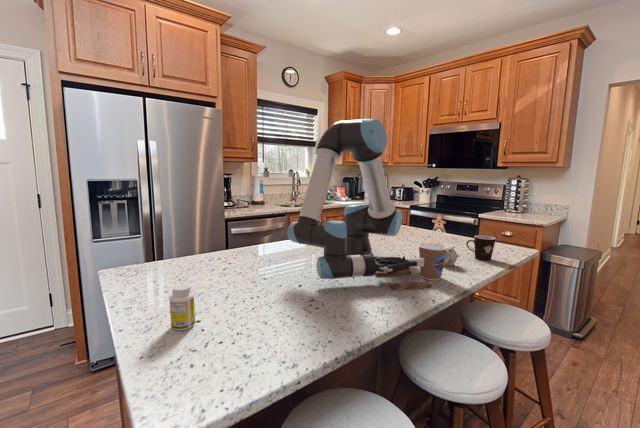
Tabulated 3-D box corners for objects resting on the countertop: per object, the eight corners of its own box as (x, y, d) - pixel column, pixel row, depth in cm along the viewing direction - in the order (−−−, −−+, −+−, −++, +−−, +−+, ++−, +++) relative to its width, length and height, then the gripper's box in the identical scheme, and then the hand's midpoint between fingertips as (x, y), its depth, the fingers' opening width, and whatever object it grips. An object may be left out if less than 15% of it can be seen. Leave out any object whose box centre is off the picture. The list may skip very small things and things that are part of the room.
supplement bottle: (188, 318, 84) (186, 281, 83) (199, 325, 81) (197, 286, 79) (167, 326, 80) (164, 287, 79) (177, 334, 77) (175, 293, 75)
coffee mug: (493, 257, 147) (495, 236, 146) (494, 262, 140) (496, 240, 138) (465, 254, 152) (467, 233, 151) (465, 259, 144) (466, 237, 143)
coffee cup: (435, 284, 113) (437, 250, 111) (410, 275, 121) (412, 244, 119) (451, 278, 119) (453, 246, 117) (426, 270, 127) (428, 241, 125)
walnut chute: (393, 290, 106) (393, 287, 106) (373, 273, 122) (373, 270, 122) (431, 287, 109) (431, 284, 109) (406, 271, 126) (406, 268, 126)
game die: (448, 272, 137) (460, 253, 138) (454, 271, 128) (467, 251, 130) (429, 260, 138) (441, 241, 140) (434, 259, 130) (447, 238, 132)
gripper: (355, 270, 118) (413, 266, 123) (368, 282, 105) (432, 278, 111) (355, 250, 117) (414, 247, 122) (369, 260, 104) (434, 257, 109)
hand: (422, 262), depth 116 cm, fingers closed
